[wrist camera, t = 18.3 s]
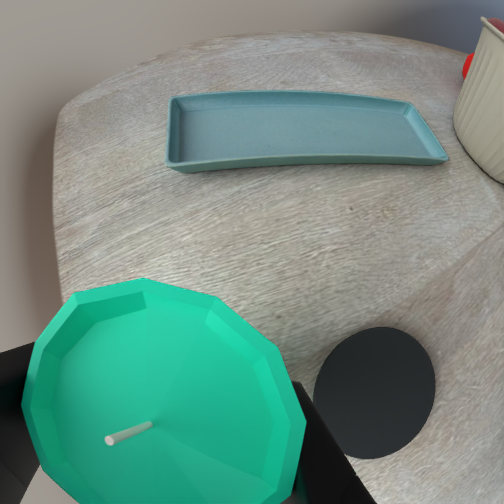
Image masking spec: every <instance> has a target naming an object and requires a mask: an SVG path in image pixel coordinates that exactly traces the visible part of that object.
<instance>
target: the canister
mask: <svg viewBox="0 0 504 504" xmlns="http://www.w3.org/2000/svg"><path fill="white" fill-rule="evenodd" d="M481 21H482V22H483V24H484V26H483V29H482V33H481V36H480V39H479V42H478V45H477V48H476V51H475V54H474V57H473V59H472V62H471V65H470V67H469V70H468V73H467V76H466V78H465V81H464V84H463V86H462V89H461V92H460V94H459V97H458V100H457V102H456V105H455V108H454V113H453V124H454V129H455V131H456V134H457V136H458V138H459V140H460V142H461V143H462V145H463V147H464V148H465V149H466V151H467V152H468V153H469V155H470V156H471V157H472V158H473V159H474V161H475V162H476V163H477V164H478V165H479V166H480V167H481V168H482V169H483V170H484V171H485V172H486V173H488V174H489V175H490V176H491V177H493V178H494V179H495V180H497V181H498V182H500V183H503V184H504V21H502V20H500V19H497V18H490V19H486V18H484V17H481Z"/></svg>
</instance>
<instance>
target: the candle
mask: <svg viewBox="0 0 504 504" xmlns="http://www.w3.org/2000/svg"><path fill="white" fill-rule="evenodd" d="M21 407H22V410H23V414H24V418H25V421H26V424H27V428H28V431H29V434H30V437H31V440H32V443H33V446H34V449H35V451H36V454H37V457H38V459H39V462H40V464H41V467H42V469H43V471H44V472H45V473H46V474H47V475H48V476H49V477H50V478H51V479H53V481H55V482H56V483H57V484H58V485H59V486H60V487H61V488H62V489H63V490H64V491H66V493H68V494H69V495H70V496H71V497H72V498H73V499H75V500H76V501H77V502H78V503H79V504H280V503H282V502H283V501H284V500H285V499H287V498H288V497H289V496H290V495H291V492H292V488H293V484H294V480H295V475H296V471H297V467H298V462H299V457H300V452H301V448H302V443H303V438H304V432H305V427H306V419H305V416H304V414H303V411H302V409H301V406H300V403H299V401H298V398H297V396H296V393H295V390H294V388H293V385H292V383H291V380H290V377H289V375H288V372H287V370H286V367H285V364H284V362H283V359H282V356H281V354H280V351H279V348H278V347H277V346H276V345H275V344H273V343H272V342H271V341H270V340H268V339H267V338H266V337H265V336H263V335H262V334H261V333H260V332H258V331H257V330H256V329H255V328H254V327H252V326H251V325H250V324H249V323H247V322H246V321H245V320H244V319H243V318H241V317H240V316H239V315H238V314H237V313H235V312H234V311H233V310H232V309H231V308H230V307H228V306H227V305H226V304H225V303H224V302H222V301H221V300H220V299H219V298H218V297H216V296H212V295H208V294H204V293H200V292H196V291H192V290H188V289H184V288H180V287H176V286H172V285H168V284H165V283H161V282H157V281H154V280H150V279H146V278H140V279H135V280H130V281H126V282H121V283H117V284H112V285H107V286H103V287H98V288H94V289H89V290H85V291H80V292H75V293H73V294H72V296H71V297H70V298H69V299H68V300H67V302H66V303H65V304H64V305H63V307H62V308H61V309H60V310H59V312H58V313H57V314H56V316H55V317H54V318H53V319H52V321H51V322H50V323H49V324H48V326H47V327H46V328H45V330H44V331H43V332H42V334H41V335H40V337H39V338H38V339H37V340H36V342H35V345H34V348H33V352H32V356H31V360H30V364H29V368H28V372H27V377H26V381H25V386H24V391H23V397H22V402H21Z"/></svg>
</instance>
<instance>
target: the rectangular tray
mask: <svg viewBox="0 0 504 504" xmlns="http://www.w3.org/2000/svg"><path fill="white" fill-rule="evenodd" d="M448 160H449V157H448V155H447V153H446V152H445V150H444V148H443V147H442V145H441V144H440V142H439V141H438V139H437V138H436V136H435V135H434V133H433V132H432V130H431V129H430V127H429V126H428V124H427V123H426V122H425V120H424V119H423V117H422V116H421V115H420V113H419V112H418V111H417V109H416V108H415V107H414V105H413V104H411V103H409V102H406V101H400V100H394V99H388V98H381V97H374V96H367V95H358V94H348V93H338V92H324V91H305V90H239V91H221V92H207V93H196V94H187V95H178V96H172V97H171V98H170V99H169V100H168V122H167V137H166V151H165V164H166V166H167V167H169V168H171V169H173V170H176V171H178V172H181V173H191V172H200V171H210V170H221V169H233V168H247V167H262V166H279V165H297V164H333V163H379V164H413V165H430V166H431V165H435V164H439V163H443V162H446V161H448Z"/></svg>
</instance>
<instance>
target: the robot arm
mask: <svg viewBox="0 0 504 504" xmlns="http://www.w3.org/2000/svg"><path fill="white" fill-rule="evenodd" d="M35 342H36V341H35ZM35 342H32V343H29V344H26V345H23V346H21V347H17V348H14V349H11V350H8V351H5V352H2V353H0V504H20V502H21V500H22V498H23V496H24V494H25V492H26V490H27V488H28V486H29V484H30V482H31V480H32V478H33V476H34V475H35V473H36V471H37V469H38V467H39V465H40V462H39V459H38V457H37V454H36V451H35V449H34V446H33V443H32V440H31V437H30V434H29V431H28V428H27V424H26V421H25V418H24V414H23V410H22V407H21V402H22V397H23V391H24V386H25V381H26V377H27V372H28V368H29V364H30V360H31V356H32V352H33V348H34V345H35ZM291 383H292V385H293V388H294V390H295V393H296V396H297V398H298V401H299V403H300V406H301V409H302V411H303V414H304V416H305V419H306V427H305V432H304V438H303V443H302V448H301V452H300V457H299V462H298V467H297V471H296V475H295V480H294V484H293V488H292V492H291V495H290V496H289V497H288V498H287V499H285V500H284V501H283V502H282V503H280V504H377V503H376V502H375V500H374V499H373V498H372V496H371V495H370V493H369V492H368V490H367V489H366V488H365V486H364V485H363V483H362V482H361V480H360V478H359V477H358V476H357V475H356V472H355V471H354V469H353V468H352V466H351V464H350V463H349V461H348V460H347V458H346V456H345V455H344V453H343V452H342V450H341V448H340V447H339V445H338V444H337V442H336V440H335V439H334V437H333V436H332V434H331V432H330V431H329V429H328V427H327V426H326V424H325V422H324V421H323V419H322V418H321V416H320V414H319V413H318V411H317V409H316V408H315V406H314V404H313V403H312V401H311V399H310V398H309V396H308V394H307V393H306V391H305V389H304V388H303V386H302V384H301V383H300V382H296V381H291ZM355 475H356V476H355Z"/></svg>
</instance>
